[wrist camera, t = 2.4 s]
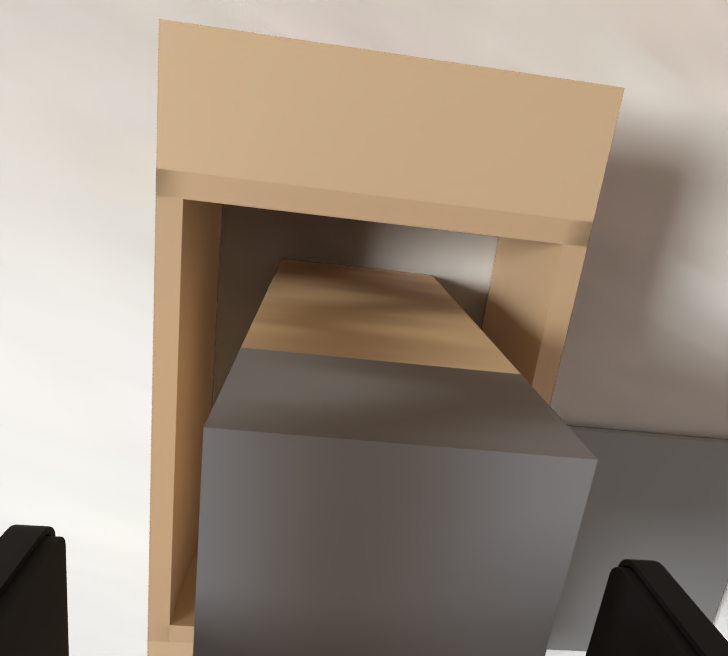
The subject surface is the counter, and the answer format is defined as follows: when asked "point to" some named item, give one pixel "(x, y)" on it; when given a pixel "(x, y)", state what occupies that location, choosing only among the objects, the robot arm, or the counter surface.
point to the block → (380, 481)
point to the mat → (647, 522)
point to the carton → (349, 214)
